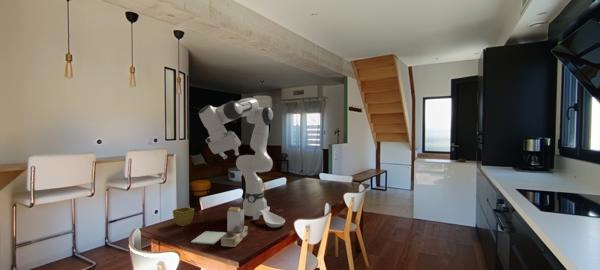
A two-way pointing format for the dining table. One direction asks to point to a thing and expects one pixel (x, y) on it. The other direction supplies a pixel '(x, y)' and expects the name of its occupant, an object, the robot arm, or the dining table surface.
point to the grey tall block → (235, 219)
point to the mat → (208, 237)
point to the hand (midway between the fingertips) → (231, 156)
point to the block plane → (233, 237)
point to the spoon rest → (270, 218)
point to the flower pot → (183, 216)
